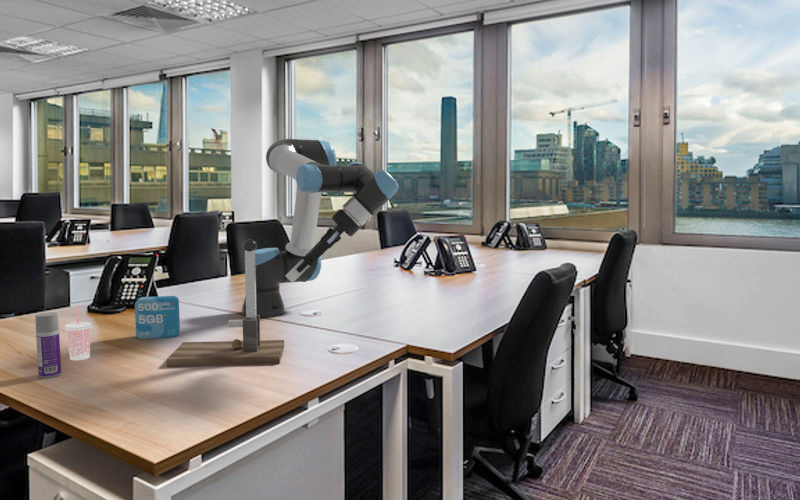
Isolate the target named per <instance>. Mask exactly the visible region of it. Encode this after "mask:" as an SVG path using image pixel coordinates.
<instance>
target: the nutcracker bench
mask: <svg viewBox="0 0 800 500" xmlns="http://www.w3.org/2000/svg"><path fill="white" fill-rule="evenodd" d="M256 318H257V320H246V319H242V320H243V327H242V340H240V339H237V338H235V339H233V340H222V341H221V340H220V341H218V340H217V341H215V340H213V341H182V343H181V344H180V345H179V346H178V347H177V348H176V349H175V350H174V351H173V352H172V354H170V355H169V356H168V357H167V358H166V367H167V368H168V367H169V368H174V367H175V368H176V367H180V368H181V367H209V366H211V367H212V366H245V365H246V366H247V365H279V364H280V363H281V360H282V357H283V353H284V348H285V339H271V340H270V339H267V340H265V339H262V340H261V317H260V315H256ZM257 321H258V323H257Z"/></svg>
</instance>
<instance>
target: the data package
mask: <svg viewBox="0 0 800 500" xmlns="http://www.w3.org/2000/svg"><path fill="white" fill-rule="evenodd" d="M179 300H180V299H179V297H177V296H176V295H164V296H163V295H162V296H161V295H160V296H141V297H139V298H137V300H136V302H135V303H134V316H135V318H134V321H135V335H136V337H137V338H138V339H141V340H146V339H147V340H148V339H149V338H150V339H163V338H165V337H166V338H174V337H177V336H178V335H179V333H180V329H181V327H180V326H181V325H180V322H181V321H180V301H179Z"/></svg>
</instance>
